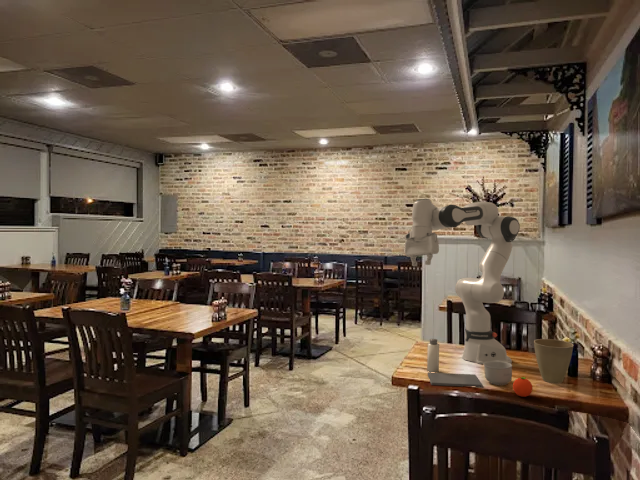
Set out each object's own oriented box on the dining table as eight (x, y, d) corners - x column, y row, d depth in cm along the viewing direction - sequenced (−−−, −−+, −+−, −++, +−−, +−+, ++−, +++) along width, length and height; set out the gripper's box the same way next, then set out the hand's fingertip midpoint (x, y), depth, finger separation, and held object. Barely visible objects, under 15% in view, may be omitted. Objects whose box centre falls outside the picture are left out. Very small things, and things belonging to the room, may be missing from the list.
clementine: (515, 391, 190) (516, 373, 190) (534, 394, 186) (535, 376, 186) (510, 396, 184) (510, 378, 184) (530, 400, 180) (530, 381, 180)
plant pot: (526, 375, 211) (527, 338, 211) (559, 375, 212) (560, 338, 212) (544, 386, 196) (545, 347, 196) (580, 386, 197) (581, 347, 197)
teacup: (508, 389, 193) (509, 369, 193) (480, 384, 199) (481, 364, 198) (515, 380, 205) (515, 361, 204) (488, 375, 210) (489, 357, 210)
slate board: (475, 376, 208) (475, 374, 208) (482, 387, 195) (482, 384, 194) (427, 374, 211) (427, 372, 211) (431, 385, 197) (431, 382, 197)
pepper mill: (438, 369, 218) (438, 338, 218) (439, 373, 213) (440, 341, 213) (426, 369, 219) (427, 338, 219) (427, 372, 214) (428, 340, 214)
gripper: (442, 232, 210) (442, 264, 208) (413, 237, 229) (413, 267, 227) (430, 230, 208) (430, 263, 206) (402, 236, 226) (402, 266, 224)
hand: (421, 265), depth 216 cm, fingers open, 8 cm apart
